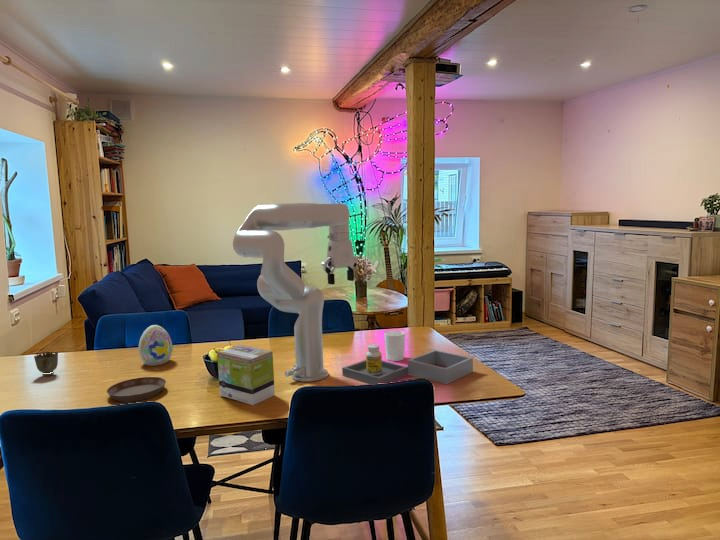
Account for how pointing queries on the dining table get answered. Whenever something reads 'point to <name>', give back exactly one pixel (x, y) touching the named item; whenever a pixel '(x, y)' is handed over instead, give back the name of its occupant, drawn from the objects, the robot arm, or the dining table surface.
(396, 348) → the white cup
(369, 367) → the supplement bottle
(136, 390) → the plant saucer
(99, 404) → the dining table surface
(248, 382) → the tea box
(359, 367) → the tray
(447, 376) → the gray square frame
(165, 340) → the decorative egg
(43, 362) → the cup
